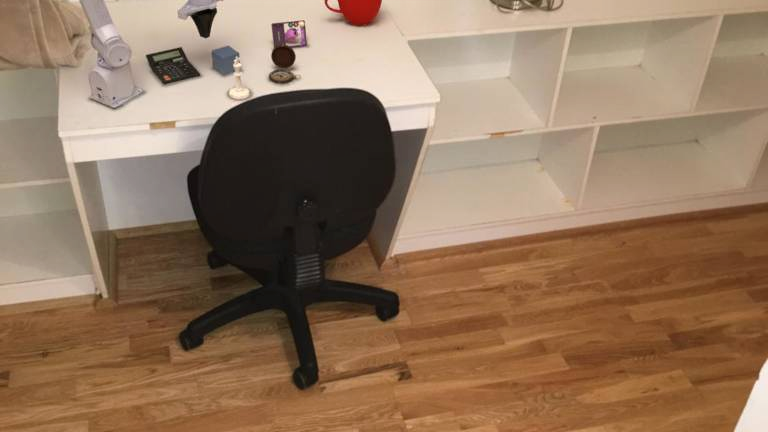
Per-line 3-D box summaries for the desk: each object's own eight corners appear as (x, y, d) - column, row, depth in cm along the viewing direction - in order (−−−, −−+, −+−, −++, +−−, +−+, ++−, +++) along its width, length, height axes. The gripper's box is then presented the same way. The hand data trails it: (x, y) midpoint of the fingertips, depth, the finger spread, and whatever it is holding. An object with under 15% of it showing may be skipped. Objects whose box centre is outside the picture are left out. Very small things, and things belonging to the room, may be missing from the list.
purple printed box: (272, 23, 207) (305, 20, 209) (268, 21, 211) (300, 18, 214) (274, 49, 209) (307, 46, 212) (270, 47, 214) (303, 43, 216)
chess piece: (224, 94, 191) (221, 57, 185) (238, 86, 194) (236, 50, 188) (240, 101, 189) (237, 64, 183) (254, 93, 192) (251, 56, 186)
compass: (267, 83, 196) (266, 57, 191) (272, 68, 202) (271, 42, 198) (299, 86, 196) (298, 60, 191) (303, 70, 202) (303, 45, 197)
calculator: (164, 85, 193) (162, 74, 191) (147, 64, 200) (145, 54, 198) (200, 76, 197) (199, 65, 195) (182, 56, 204) (180, 46, 202)
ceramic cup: (317, 15, 227) (317, -18, 221) (371, 8, 233) (373, -24, 227) (332, 35, 218) (332, 1, 212) (388, 27, 224) (390, -6, 218)
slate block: (223, 76, 198) (222, 58, 194) (212, 68, 200) (211, 50, 197) (240, 70, 200) (239, 52, 197) (229, 62, 203) (228, 45, 200)
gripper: (191, -2, 178) (197, 52, 187) (233, -23, 188) (236, 30, 197) (168, -10, 181) (174, 43, 190) (210, -30, 191) (214, 22, 200)
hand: (204, 36), depth 194 cm, fingers closed
